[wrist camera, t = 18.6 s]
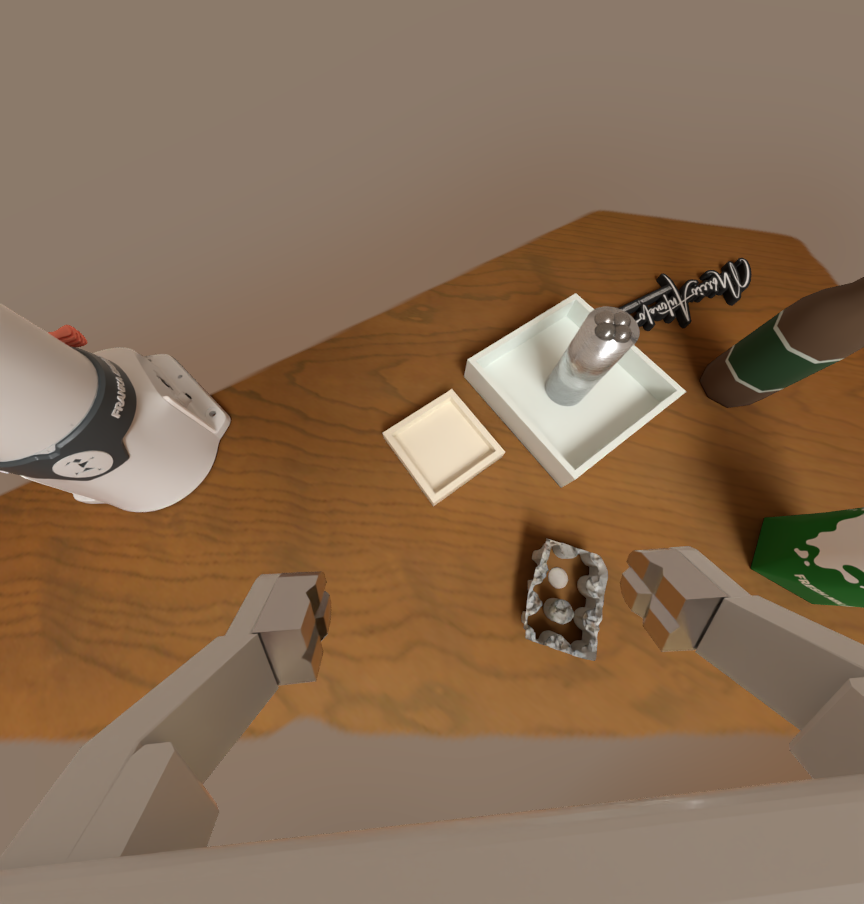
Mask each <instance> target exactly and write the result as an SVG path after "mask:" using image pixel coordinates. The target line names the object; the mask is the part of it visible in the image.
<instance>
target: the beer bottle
mask: <svg viewBox="0 0 864 904" xmlns="http://www.w3.org/2000/svg"><path fill="white" fill-rule="evenodd" d="M863 347H864V277H863V278H861V279H859V280H857V281H855V282H853V283H850V284H845V285H841V286H836V287H832V288H827V289H823V290H821V291H818V292H816V293H813V294H811V295H808V296H806V297H803V298H802V299H800V300H798V301H797V302H795V303H794V304H792V305H790V306H789V307H787V308H786V309H784V310H783V311H781V312H780V313H778V314H777V315H776V316H774V317H773V318H772V319H770V320H769V321H767V322H766V323H765V324H763V325H762V326H760V327H759V328H758V329H756V330H755V331H753V332H752V333H751V334H749V335H748V336H746V337H745V338H744V339H742V340H741V341H739V342H738V343H737V344H735V345H734V346H732V347H731V348H730V349H728V350H727V351H726V352H724V353H723V354H721V355H720V356H719V357H717V358H716V359H715V360H713V361H712V362H711V363H710V364H709V365H707V367H706V369H705V371H704V373H703V375H702V377H701V379H700V382H701V384H702V386H703V388H704V390H705V392H706V394H707V396H708V397H709V398H710V399H712V400H714V401H716V402H718V403H720V404H721V405H723V406H725V407H727V408H729V407H737V406H744V405H750V404H752V403H754V402H757V401H759V400H761V399H763V398H765V397H767V396H769V395H771V394H773V393H775V392H777V391H779V390H781V389H783V388H785V387H787V386H789V385H791V384H793V383H795V382H798V381H800V380H802V379H804V378H806V377H808V376H810V375H812V374H814V373H816V372H818V371H820V370H822V369H824V368H826V367H828V366H830V365H832V364H834V363H836V362H838V361H840V360H842V359H844V358H845V357H847V356H849V355H851V354H852V353H854V352H856V351H858V350H859V349H861V348H863Z"/></svg>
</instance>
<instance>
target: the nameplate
mask: <svg viewBox="0 0 864 904" xmlns="http://www.w3.org/2000/svg"><path fill="white" fill-rule="evenodd" d="M721 270H722V273H721V274H719V273H718V272H716V271H714V270H708V271H706V272H705V273H704V274H703V275H702V276H701V277H700V280H702V281H703V280H705V281H704V282H703V283H700V284H699V285H697V284H698V283H699V282H698V281H697V280H693V279H691V280H688V281H687V282H686V283H685V284H684V285H683V286H682V287H681V288H680V290H679V291H678V289H677V287H676V285H675V284H674V282H673V281H672V280H671V279H670V278H669V277H668V276H667V275H666V274H661V275H660V276H659V277H658V279H657V280H656V281H657V282H658V283H659V285H660V286H661V287H662V288H659V289H657V290H655V291H653V292H651V293H649V294H647V295H645V296H643V297H641V298H639V299H636V300H634V301H632V302H630V303H628V304H626V305H624V306H622V307H620V308H618V309H621V310H623V311H625V312H627V313H628V314H631V313H633V312H636V313H637V314H636V315H635V316H634V320H635V321H636V322H637V324H638V326H639V327H641V326H643V328H644V329H645V330H646V331H650V330H651V329H652V328H653V327H654V326H655V322H654V321H660V320H662V319H663V320H664V322H665V323H671V322H672V321H673V320H674V319H675V318H677V321H678V323H679V325H680V327H681V328H685V327H686V326H687V325H689V324H690V323H691V317H690V312H689V305H688V303H689V302H693V301H694V302H700V301H701V300H702V299H703V298H704V297H705V296H706V297H709V298H713V297H714V296H715V295H722V294H723V296H724V299H725V301H726V303H727V304H728V305H731V306H732V305H734V304H735V303H736V302H737V301H738V300H740V298H741V293H742V292H743V291H744V290H745V289H746V288H747V287H748V286H749V284H750V281H751V268H750V265H749V263H748V261H747V260H746V259H744V258H739V259H738V260H737V261H736V262H735V263H733V262H731V261H729V262H727V263H726V264H725V265H724V266H723V267H722V269H721ZM707 280H708V281H707ZM654 302H657V303H658V304H656V305H655V306H652V307H648V305H650V304H652V303H654Z"/></svg>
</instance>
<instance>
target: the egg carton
mask: <svg viewBox="0 0 864 904" xmlns="http://www.w3.org/2000/svg"><path fill="white" fill-rule="evenodd" d="M551 547H552V548H553V552H554V554H555V555H556V556H557V557H559V558H563V559H564V558H574V557H576V556H577V555H578V554H580V556H581V560H582V562H583V563H584V564H585V565H587V566H588V567H589V575H588V576H586V575H585V576H582V577H580V578H579V580H578V582H577V587H578V590H579V592H580V593H581V594H582V595H583V596H584V597H586V605H585V607H580V608H578V609H576V610H575V612H573V610H572V607H571V605H570V604H569V603H568V602H567V601H565V600H562V599H557V598H549V599H547V600H546V602H545V603H544V607H543V609H544V613H545V615H546V617H547V618H549V619H550V620H551V621H554V622H557V623H560V624H565V623H568V622H570V621H571V620H572V618H573V619H574V623H575V624H576V626H577V627H578V628H579V629H581V630H582V631H583V632H582V640H576V641H574V642H573V643H572V644H571V645H570V643H569V642H567V641H566V640H565V639H564V638H563V636H561V635H559V634H557V633H555V632H553V631H550V630H546V631H544V632H542V633H541V634H540V636H539V639H535V632H534V630H533V629H532V628H531V627H530V626H529V625H528V624H527V618H528V616H531V615H532V614H535V613H536V612H537V611H538V610H539V608H540V607H541V606H542V601H541V600H540V599H539V597H538V595H537V593H535V592H534V591H533V586H534V585H536V584H539V583H541V582H542V581H543V579H544V578H545V577H546V573H547V571H549V570H548V567H547V564H546V562H547V560H548V558H549V554H550V549H551ZM532 560H534V561H535V562H536V563H537V565H538V566H537V567H536V569H535V574H534V579H533V580H528V591H529V592H528V598H527V607H526V611H523V612H522V616H521V621H522V622H523V623H524V629H525V630H526V639H528V640H531V641H533V642H536V643H539V644H542V645H546V646H549V647H551V648H553V649H557V650H560V651H562V652H565V653H568V654H571V655H573V656H577V657H580V658H583V659H588V660H593V661H595V660H596V652H597V634H598V631H599V623H600V622H601V620H602V608H603V602H604V593H605V588H606V584H607V579H608V571H607V568H606V566H605V564H604V562H603V560H602V558H601V557H600V556H599V555H597V554H594V553H590V552H588V551H585V550H582V549H578V548H575V547H573V546H570V545H567V544H564V543H559V542H556V541H553V540H550V539H547V538H546V543H544V545H543V546H542V548H541V549H539V550H535V551H533V554H532ZM548 580H549V582H550V584H551V585H552V586H553V587H555V588H563V587H564V586H566V584H567V582H568V576H567V574H566V572H565V571H564V570H563V569H561V568H558V567H556V568H552V569H551V570H550V571H549V574H548Z"/></svg>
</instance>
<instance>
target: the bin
mask: <svg viewBox="0 0 864 904" xmlns="http://www.w3.org/2000/svg"><path fill="white" fill-rule="evenodd" d="M593 310H594V309H593V308H592V307H591V306H590V305H588V304H587V303H586V302H585V301H584V300H583V299H582V298H581V297H579V296H578V295H577V294H576V293H575V294H574V295H572V296H570V297H569V298H567V299H565V300H564V301H562V302H561V303H559V304H557V305H556V306H554V307H552V308H551V309H549V310H547V311H546V312H544V313H543V314H541V315H539V316H538V317H536V318H534V319H533V320H531V321H530V322H528V323H526V324H525V325H523V326H521V327H520V328H518V329H516V330H515V331H513V332H512V333H510V334H508V335H507V336H505V337H503V338H502V339H500V340H498V341H497V342H495V343H494V344H492V345H490V346H489V347H487V348H485V349H484V350H482V351H480V352H479V353H477V354H476V355H474V356H472V357H471V358H469V359H467V364H466V369H465V374H464V377H465V379H466V380H467V381H468V382H469V383H470V384H471V385H472V387H473V388H474V389H475V390H476V391H477V392H478V393H479V395H480V396H481V397H482V398H483V399H484V400H485V401H486V403H487V404H488V405H489V406H490V407H491V408H492V409H493V411H494V412H495V413H496V414H497V415H498V416H499V417H500V419H501V420H502V421H503V422H504V423H505V424H506V425H507V427H508V428H509V429H510V430H511V431H512V432H513V433H514V435H515V436H516V437H517V438H518V439H519V440H520V441H521V443H522V444H523V445H524V446H525V447H526V448H527V449H528V451H529V452H530V453H531V454H532V455H533V456H534V457H535V459H536V460H537V461H538V462H539V463H540V464H541V465H542V467H543V468H544V469H545V470H546V471H547V472H548V473H549V475H550V476H551V477H552V478H553V479H554V480H555V481H556V483H557V484H558V485H559V486H560V487H561V488H562V487H563V486H565V485H567V484H568V483H570V482H572V481H573V480H575V479H576V478H578V477H579V476H580V475H582V474H583V473H584V472H585V471H587V470H588V469H589V468H590V467H592V466H593V465H594V464H595V463H597V462H598V461H599V460H600V459H602V458H603V457H604V456H605V455H607V454H608V453H609V452H611V451H612V450H613V449H614V448H616V447H617V446H618V445H619V444H621V443H622V442H623V441H624V440H626V439H627V438H628V437H629V436H631V435H632V434H633V433H635V432H636V431H637V430H638V429H640V428H641V427H642V426H643V425H645V424H646V423H647V422H648V421H650V420H651V419H652V418H653V417H655V416H656V415H657V414H659V413H660V412H661V411H662V410H664V409H665V408H666V407H667V406H669V405H670V404H671V403H672V402H674V401H675V400H676V399H677V398H679V397H680V396H681V395H683V394H684V393H685V392H686V391H685V390H684V389H683V388H682V387H681V386H679V385H678V384H677V383H676V382H675V381H674V380H673V379H672V378H670V377H669V376H668V375H667V374H666V373H665V372H664V371H663V370H661V369H660V368H659V367H658V366H657V365H656V364H655V363H654V362H652V361H651V360H650V359H649V358H648V357H647V356H646V355H645V354H643V353H642V352H641V351H640V350H639V349H638V348H637V347H636V346H634V345H633V346H632V347H631V348H630V349H629V350H628V351H627V352H626V353H625V354H624V355H623V357H622V358H621V359H620V360H619V361H618V362H617V363H616V364H615V365H614V366H613V367H612V368H611V369H610V370H609V372H608V373H607V374H606V375H605V376H604V377H603V378H602V379H601V380H600V381H599V382H598V383H597V384H596V385H595V386H594V388H593V389H592V390H591V391H590V392H589V393H588V394H587V395H586V396H585V397H584V398H583V399H582V400H581V401H580V402H579V403H578V404H576V405H573V406H562V405H559V404H556V403H555V402H553V401H552V400H551V399H550V398H549V397H548V395H547V394H546V391H545V382H546V380H547V378H548V377H549V375H550V374H551V372H552V370H553V369H554V367H555V366H556V364H557V363H558V361H559V360H560V358H561V356H562V355H563V353H564V352H565V350H566V349H567V347H568V346H569V344H570V343H571V341H572V339H573V338H574V336H575V335H576V333H577V332H578V330H579V329H580V327H581V325H582V324H583V322H584V321H585V319H586V318H587V316H588V315H589V313H590V312H591V311H593Z"/></svg>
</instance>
